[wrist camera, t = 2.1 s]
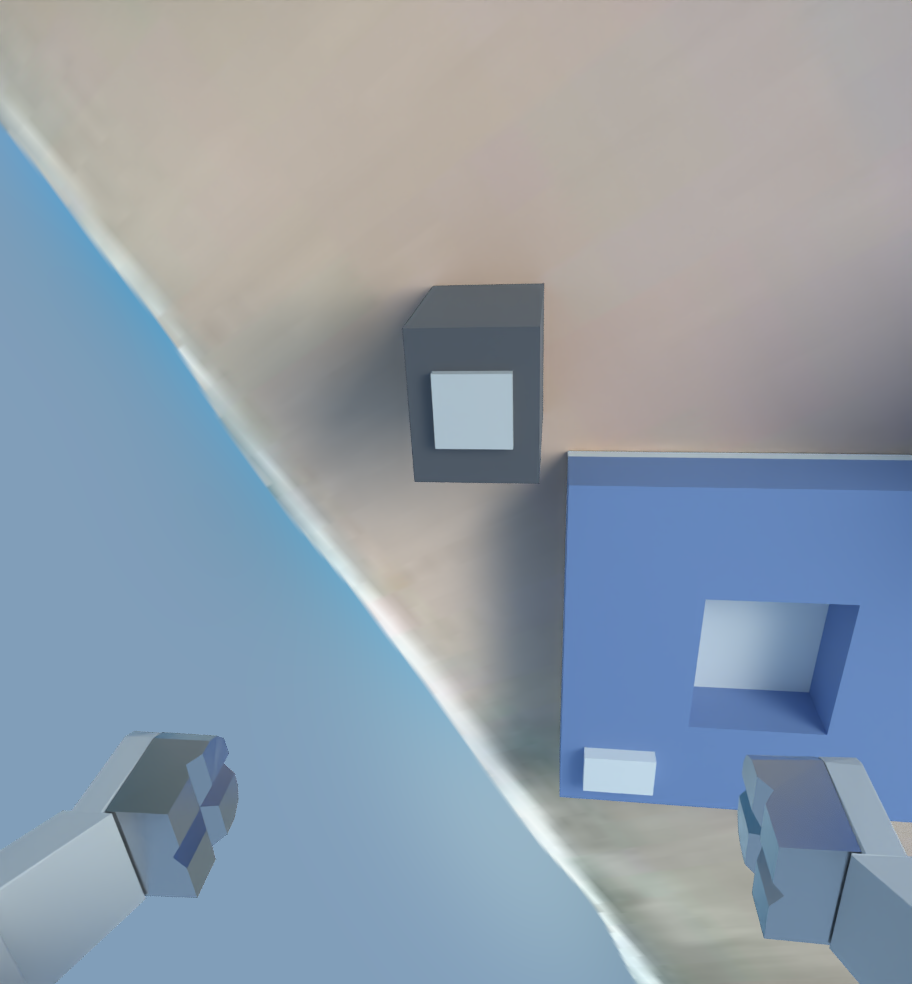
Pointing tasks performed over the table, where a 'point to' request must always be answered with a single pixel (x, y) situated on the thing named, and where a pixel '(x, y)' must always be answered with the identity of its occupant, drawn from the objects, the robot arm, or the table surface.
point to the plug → (476, 383)
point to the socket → (734, 621)
